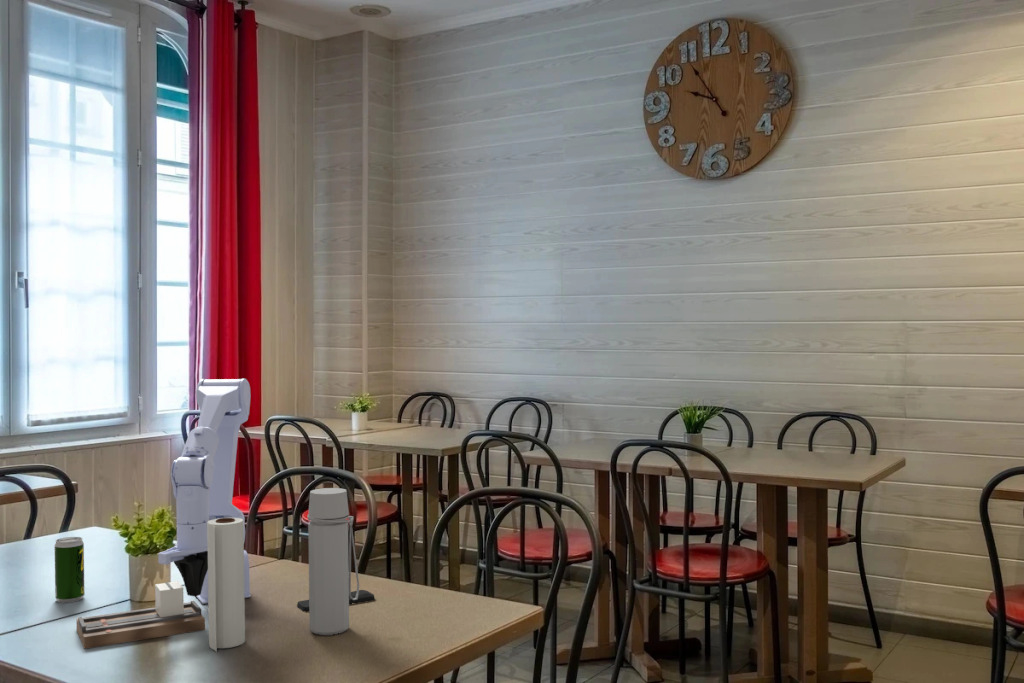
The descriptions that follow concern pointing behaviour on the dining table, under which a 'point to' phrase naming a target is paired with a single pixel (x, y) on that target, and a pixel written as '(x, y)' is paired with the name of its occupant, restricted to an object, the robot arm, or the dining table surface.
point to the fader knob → (169, 599)
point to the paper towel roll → (226, 582)
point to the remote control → (362, 597)
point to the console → (137, 625)
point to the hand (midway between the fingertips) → (194, 594)
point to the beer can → (69, 569)
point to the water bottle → (329, 561)
